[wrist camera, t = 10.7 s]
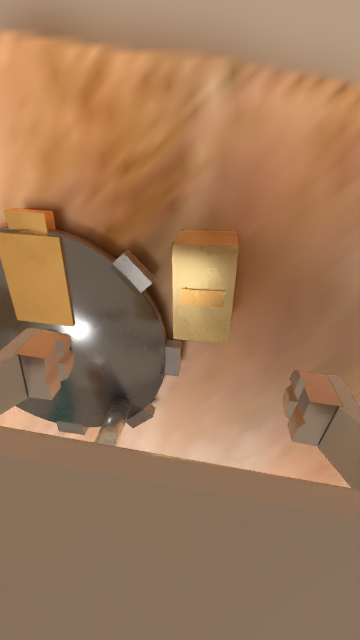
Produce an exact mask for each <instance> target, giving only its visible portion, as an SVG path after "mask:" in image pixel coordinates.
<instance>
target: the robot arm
mask: <svg viewBox="0 0 360 640" xmlns="http://www.w3.org/2000/svg"><path fill="white" fill-rule="evenodd" d="M71 345H72V339H71V336H70V335H69V334H64V333H59V332H53V331H47V330H41V329H35V328H27V329H25V330H24V331H23V332H22V333H21V334H19V335H18V336H17V337H16V338H15V339H14V340H12V341H11V342H10V343H9V344H8V345H6V346H5V347H4V348H3V349H2V350H0V415H1V414H2V413H4V412H6V411H7V410H9V409H10V408H12V407H14V406H15V405H17V404H19V403H20V402H22V401H24V400H25V399H27V398H28V397H32V398H39V399H47V400H52V399H53V397H54V396H55V395H56V393H57V392H58V390H59V389H60V388H61V384H60V382H61V381H63V380H65V379H67V378H68V376H69V375H70V373H71V370H72V368H73V363H74V356H73V353H72V352H71V351H70V349H69V348H70V346H71ZM290 380H291V383H292V385H291V386H289V387H288V388H286V391H285V394H284V400H283V408H284V413H285V415H286V416H287V417H288V418H289V419H290V420H289V423H288V428H289V432H290V435H291V439H292V441H294V442H299V443H304V444H309V445H314V446H318V448H319V450H320V451H321V452H322V453H323V454H324V455H325V457H326V458H327V459H328V460H329V461H330V463H331V464H332V465H333V466H334V467H335V469H336V470H337V471H338V472H339V473H340V475H341V476H342V477H343V478H344V479H345V480H346V482H347V483H348V484H349V485H350V486H351V488H347V487H341V486H335V485H330V484H324V483H318V482H312V481H307V480H301V479H295V478H290V477H284V476H278V475H273V474H267V473H262V472H256V471H250V470H245V469H239V468H234V467H228V466H222V465H217V464H211V463H206V462H200V461H195V460H189V459H183V458H178V457H172V456H166V455H161V454H155V453H149V452H144V451H138V450H132V449H127V448H121V447H115V446H110V445H104V444H98V443H93V442H87V441H81V440H76V439H70V438H64V437H59V436H53V435H48V434H42V433H36V432H31V431H25V430H19V429H14V428H8V427H2V426H0V640H360V407H359V406H358V404H357V402H356V401H355V399H354V397H353V395H352V394H351V392H350V390H349V389H348V387H347V385H346V383H345V382H344V380H343V378H342V377H340V376H337V375H330V374H319V373H312V372H306V371H299V370H294V372H293V373H292V375H291V378H290Z"/></svg>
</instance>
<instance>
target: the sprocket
mask: <svg viewBox="0 0 360 640" xmlns="http://www.w3.org/2000/svg"><path fill="white" fill-rule="evenodd" d="M4 211H5V216H6V220H7V224H8V228H4V229H0V350H2V349H3V348H4V347H5V346H6V345H8V344H9V343H10V342H11V341H12V340H14V339H15V338H16V337H17V336H18V335H19V334H21V333H22V332H23V331H24V330H25V329H27V328H35V329H41V330H47V331H53V332H59V333H64V334H69V335H70V336H71V339H72V345H71V346H70V348H69V349H70V351H71V352H72V353H73V356H74V363H73V368H72V370H71V373H70V375H69V376H68V378H67V379H65V380H63V381H61V382H60V384H61V388H60V389H59V390H58V392H57V393H56V395H55V396H54V397H53V399H52V400H47V399H39V398H32V397H28V398H27V399H25V400H24V401H22V402H20V403H19V404H17V405H15V406H17V407H19V408H20V409H22V410H24V411H26V412H28V413H30V414H33V415H35V416H37V417H40V418H43V419H45V420H48V421H52V422H55V423H57V426H58V430H59V431H63V432H69V433H75V434H81V435H85V433H86V431H87V429H88V427H101V426H102V427H101V429H100V431H99V433H98V435H97V437H96V439H95V442H94V443H98V444H104V445H110V446H115V447H116V445H117V443H118V440H119V438H120V435H121V433H122V430H123V428H124V425H125V422H126V423H127V424H129V425H130V426H131V427H132V428H134V427H136V426H138V425H139V424H141V423H143V422H145V421H146V420H148V419H150V418H152V417H153V415H154V411H155V407H154V406H153V405H151V404H150V403H151V401H152V400H153V398H154V397H155V396H156V394H157V392H158V390H159V388H160V386H161V384H162V381H163V377H164V374H165V375H173V376H179V371H180V363H181V345H182V341H177V340H169V339H167V335H166V331H165V326H164V324H163V321H162V318H161V315H160V313H159V311H158V309H157V307H156V305H155V303H154V301H153V299H152V298H151V296H150V295H149V293H148V292H147V290H146V288H147V287H149V286H150V285H151V284H152V283H153V281H154V280H155V277H154V276H153V275H152V274H151V272H150V271H149V270H148V269H147V268H146V267H145V266H144V265H143V264H142V263H141V262H140V261H139V260H138V259H137V258H136V257H135V256H134V254H133V253H132V252H131V251H130V250H129V249H127V250H126V251H125V252H124V253H123V254H122V255H121V256H120V257H119V258H118V259H116V258H115V257H113V256H112V255H111V254H109V253H108V252H107V251H105V250H104V249H102V248H100V247H99V246H97V245H95V244H93V243H92V242H90V241H88V240H86V239H83V238H81V237H79V236H76V235H74V234H72V233H68V232H65V231H61V230H58V229H56V228H55V222H54V216H53V211H46V210H32V209H18V208H14V209H9V210H4Z"/></svg>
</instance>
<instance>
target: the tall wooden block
mask: <svg viewBox="0 0 360 640" xmlns="http://www.w3.org/2000/svg"><path fill="white" fill-rule="evenodd" d="M238 250H239V244H238V236H237V231H223V230H191V229H182V230H181V232H180V233H179V235H178V236H177V237H176V239H175V240H174V242H173V243H172V286H173V339H180V340H192V341H204V342H217V343H229V338H230V328H231V318H232V308H233V299H234V289H235V279H236V269H237V260H238Z"/></svg>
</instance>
